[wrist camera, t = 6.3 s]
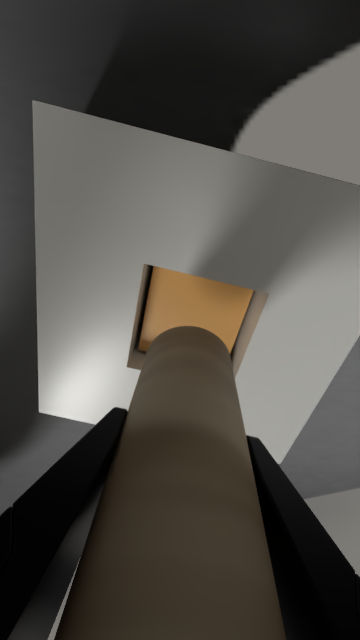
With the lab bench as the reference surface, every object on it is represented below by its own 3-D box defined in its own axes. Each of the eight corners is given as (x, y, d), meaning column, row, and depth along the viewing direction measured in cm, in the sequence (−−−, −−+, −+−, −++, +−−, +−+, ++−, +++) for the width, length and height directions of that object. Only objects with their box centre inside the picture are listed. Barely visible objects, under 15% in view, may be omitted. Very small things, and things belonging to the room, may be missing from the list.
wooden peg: (216, 403, 12) (274, 1039, 3) (139, 386, 12) (-46, 1002, 3) (242, 337, 10) (529, 1260, 1) (153, 316, 10) (-167, 1208, 1)
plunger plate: (223, 361, 17) (224, 369, 16) (140, 342, 17) (138, 349, 16) (252, 282, 14) (254, 287, 14) (156, 259, 14) (154, 263, 13)
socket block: (266, 417, 21) (280, 463, 17) (67, 373, 20) (38, 412, 17) (376, 202, 14) (439, 206, 10) (77, 125, 13) (32, 99, 10)
